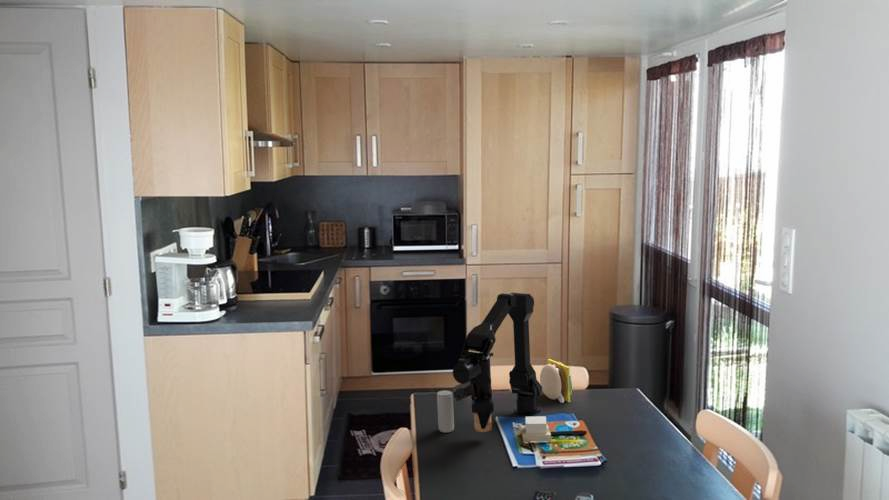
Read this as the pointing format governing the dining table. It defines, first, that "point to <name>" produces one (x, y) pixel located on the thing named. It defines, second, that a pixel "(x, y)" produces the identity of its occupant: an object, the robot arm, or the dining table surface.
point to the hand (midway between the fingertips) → (483, 425)
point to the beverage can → (445, 411)
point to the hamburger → (556, 381)
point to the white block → (536, 425)
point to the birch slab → (535, 435)
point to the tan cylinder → (478, 426)
